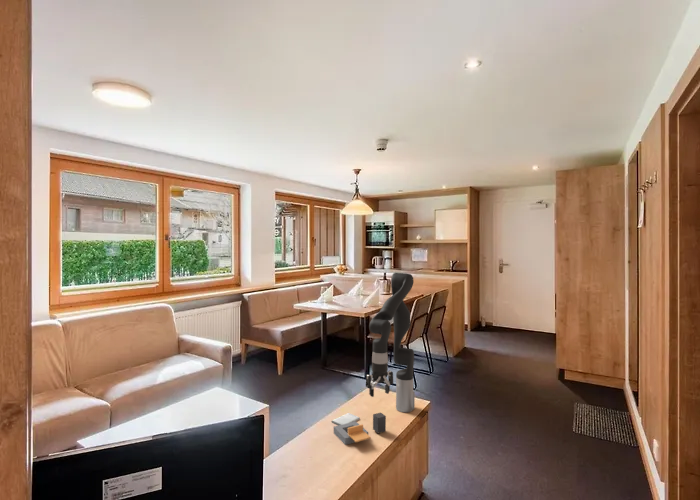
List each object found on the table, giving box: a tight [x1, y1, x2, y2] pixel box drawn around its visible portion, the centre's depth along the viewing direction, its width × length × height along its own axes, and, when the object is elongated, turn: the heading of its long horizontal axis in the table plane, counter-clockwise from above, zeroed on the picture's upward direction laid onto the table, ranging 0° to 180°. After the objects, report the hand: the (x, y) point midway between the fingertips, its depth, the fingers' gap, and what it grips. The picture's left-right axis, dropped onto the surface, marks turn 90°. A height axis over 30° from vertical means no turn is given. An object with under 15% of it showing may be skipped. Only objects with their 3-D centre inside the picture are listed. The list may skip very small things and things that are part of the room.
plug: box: [372, 412, 387, 434], centre depth 177 cm, size 4×4×8 cm
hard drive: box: [331, 412, 361, 426], centre depth 188 cm, size 2×8×12 cm
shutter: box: [348, 423, 371, 443], centre depth 166 cm, size 8×8×3 cm
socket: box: [333, 421, 369, 446], centre depth 173 cm, size 12×12×3 cm
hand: (379, 394), depth 177 cm, fingers open, 8 cm apart
